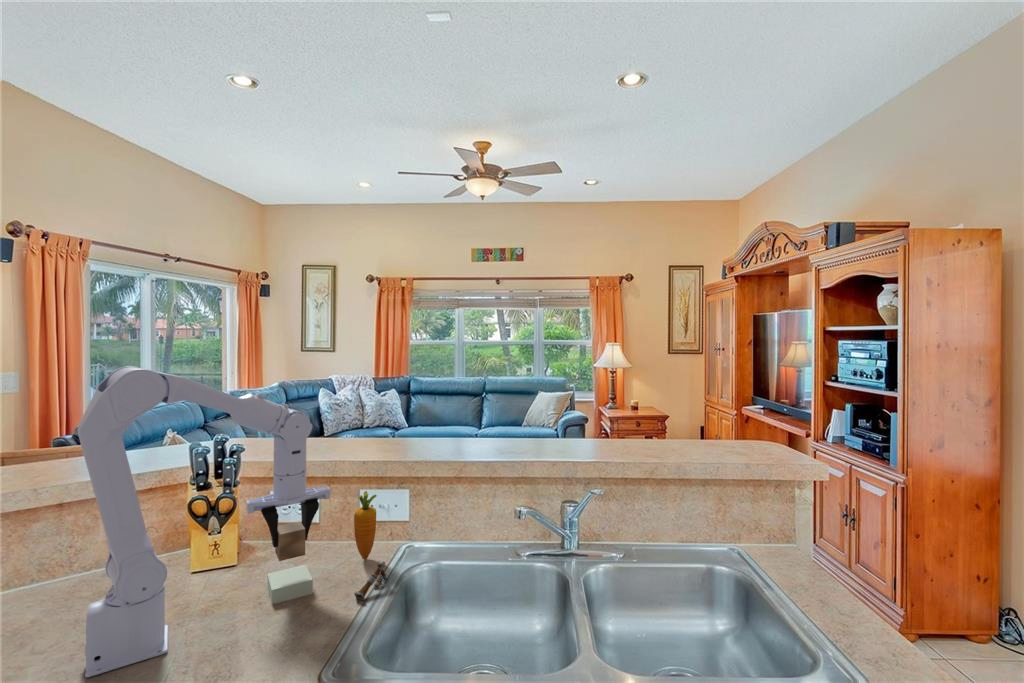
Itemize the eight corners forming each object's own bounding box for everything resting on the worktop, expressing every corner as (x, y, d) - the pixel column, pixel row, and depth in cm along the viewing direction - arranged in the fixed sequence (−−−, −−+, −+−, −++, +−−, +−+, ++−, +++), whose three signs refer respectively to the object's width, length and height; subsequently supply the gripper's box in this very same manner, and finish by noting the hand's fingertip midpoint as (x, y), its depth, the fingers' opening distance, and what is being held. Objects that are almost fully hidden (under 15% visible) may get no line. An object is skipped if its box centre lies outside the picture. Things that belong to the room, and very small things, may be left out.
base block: (271, 606, 86) (271, 590, 86) (267, 588, 92) (267, 573, 92) (312, 595, 90) (312, 579, 90) (305, 579, 96) (305, 564, 96)
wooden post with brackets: (392, 575, 95) (386, 559, 93) (367, 611, 88) (361, 594, 87) (385, 574, 96) (379, 557, 94) (360, 608, 89) (353, 592, 87)
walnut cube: (279, 561, 87) (279, 534, 87) (275, 552, 91) (275, 526, 91) (305, 554, 90) (305, 528, 90) (300, 546, 93) (300, 521, 93)
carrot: (359, 553, 106) (360, 487, 106) (380, 555, 106) (381, 488, 105) (349, 564, 101) (349, 494, 101) (370, 565, 101) (371, 496, 100)
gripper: (249, 483, 83) (249, 560, 83) (334, 470, 91) (334, 540, 91) (245, 474, 89) (245, 545, 89) (325, 462, 97) (325, 527, 97)
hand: (289, 541), depth 90 cm, fingers closed on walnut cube, 4 cm apart
